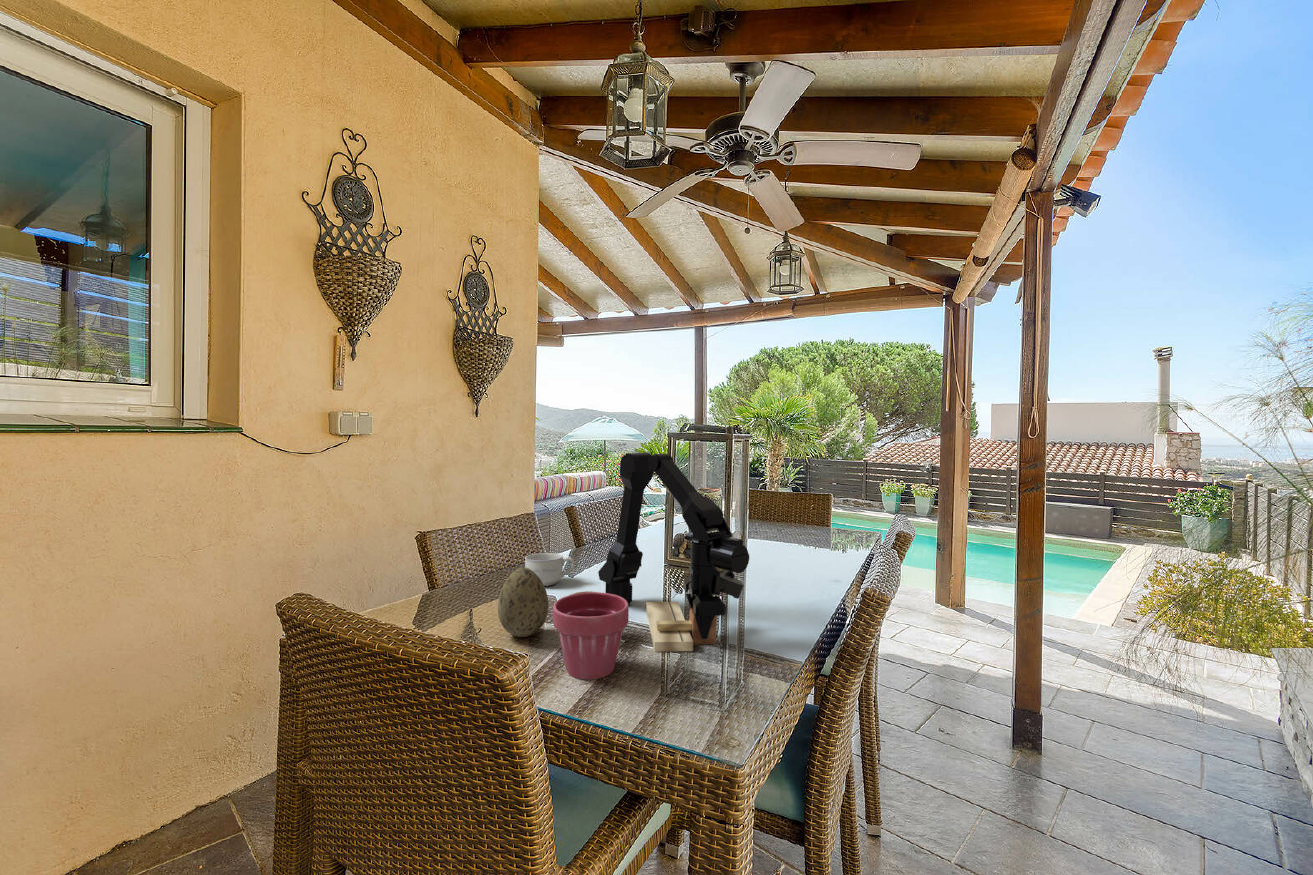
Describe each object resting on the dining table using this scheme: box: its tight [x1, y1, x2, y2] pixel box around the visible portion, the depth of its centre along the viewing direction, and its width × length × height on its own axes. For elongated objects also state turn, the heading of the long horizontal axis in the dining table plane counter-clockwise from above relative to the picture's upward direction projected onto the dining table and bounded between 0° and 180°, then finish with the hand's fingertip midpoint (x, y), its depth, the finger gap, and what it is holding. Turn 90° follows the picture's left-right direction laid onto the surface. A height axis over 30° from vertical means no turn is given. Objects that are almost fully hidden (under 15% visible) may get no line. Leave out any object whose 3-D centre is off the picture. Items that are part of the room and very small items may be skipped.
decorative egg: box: [497, 566, 550, 638], centre depth 125 cm, size 11×11×15 cm
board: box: [645, 601, 694, 653], centre depth 131 cm, size 8×25×2 cm, turn 5°
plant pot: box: [552, 591, 630, 680], centre depth 109 cm, size 14×14×13 cm
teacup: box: [524, 552, 576, 587], centre depth 163 cm, size 14×11×8 cm
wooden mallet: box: [656, 608, 717, 645], centre depth 125 cm, size 12×5×6 cm, turn 96°
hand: (702, 633), depth 125 cm, fingers open, 5 cm apart
